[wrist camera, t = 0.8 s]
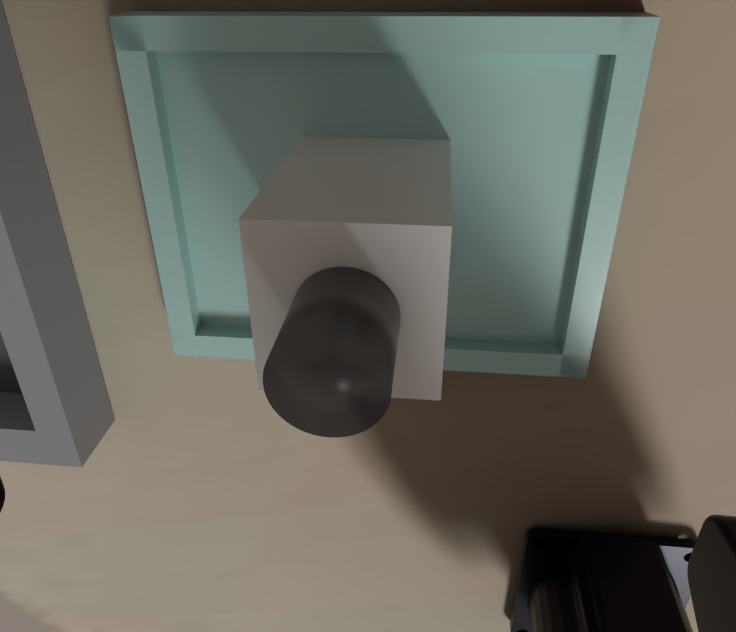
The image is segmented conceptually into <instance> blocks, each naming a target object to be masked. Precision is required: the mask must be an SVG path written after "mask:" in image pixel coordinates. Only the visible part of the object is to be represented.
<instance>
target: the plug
mask: <svg viewBox="0 0 736 632" xmlns="http://www.w3.org/2000/svg"><path fill="white" fill-rule="evenodd" d="M238 220H239V229H240V237H241V245H242V254H243V262H244V271H245V279H246V288H247V296H248V304H249V313H250V321H251V330H252V338H253V347H254V355H255V363H256V372H257V380H258V389H259V390H264V391H265V394H266V397H267V399H268V401H269V403H270V404H271V406H272V407H273V409H274V410H275V411H276V412H277V413H278V415H279V416H281V417H282V418H283V419H284V420H285V421H287V422H288V423H289V424H291V425H292V426H294V427H296V428H298V429H300V430H302V431H304V432H307V433H310V434H313V435H318V436H323V437H346V436H351V435H355V434H358V433H360V432H363V431H365V430H367V429H369V428H370V427H372V426H373V425H374V424H376V423H377V422H378V421H379V420H380V419H381V418H382V417H383V415H384V414H385V412H386V410H387V408H388V406H389V403H390V399H391V398H405V399H421V400H437V401H441V391H442V376H443V360H444V344H445V329H446V313H447V298H448V282H449V267H450V251H451V236H452V189H451V140H446V139H398V138H351V137H303V136H302V137H301V138H300V139H299V141H298V142H297V143H296V144H295V146H294V147H293V148H292V150H291V151H290V152H289V154H288V155H287V156H286V158H285V159H284V160H283V161H282V163H281V164H280V165H279V167H278V168H277V169H276V171H275V172H274V173H273V174H272V176H271V177H270V178H269V180H268V181H267V182H266V184H265V185H264V186H263V188H262V189H261V190H260V191H259V193H258V194H257V195H256V197H255V198H254V199H253V201H252V202H251V203H250V205H249V206H248V207H247V208H246V210H245V211H244V212H243V214H242V215H241V216H240V218H239V219H238Z"/></svg>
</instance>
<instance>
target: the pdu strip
mask: <svg viewBox="0 0 736 632" xmlns="http://www.w3.org/2000/svg"><path fill="white" fill-rule="evenodd" d="M114 420H115V419H114V416H113V412H112V408H111V405H110V401H109V397H108V394H107V390H106V386H105V383H104V379H103V375H102V371H101V368H100V364H99V360H98V357H97V353H96V349H95V346H94V342H93V338H92V335H91V331H90V327H89V323H88V320H87V316H86V312H85V309H84V305H83V301H82V298H81V294H80V290H79V287H78V283H77V279H76V275H75V272H74V268H73V264H72V261H71V257H70V253H69V250H68V246H67V242H66V239H65V235H64V231H63V227H62V224H61V220H60V216H59V213H58V209H57V205H56V202H55V198H54V194H53V191H52V187H51V183H50V179H49V176H48V172H47V168H46V165H45V161H44V157H43V154H42V150H41V146H40V143H39V139H38V135H37V131H36V128H35V124H34V120H33V117H32V113H31V109H30V106H29V102H28V98H27V95H26V91H25V87H24V83H23V80H22V76H21V72H20V69H19V65H18V61H17V58H16V54H15V50H14V47H13V43H12V39H11V35H10V32H9V28H8V24H7V21H6V17H5V13H4V10H3V6H2V2H1V0H0V461H9V462H23V463H36V464H49V465H62V466H76V467H82V466H83V465H84V463H85V462H86V460H87V459H88V458H89V456H90V455H91V453H92V452H93V450H94V449H95V448H96V446H97V445H98V443H99V442H100V440H101V439H102V438H103V436H104V435H105V433H106V432H107V430H108V429H109V428H110V426H111V425H112V423H113V422H114Z"/></svg>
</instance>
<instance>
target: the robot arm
mask: <svg viewBox="0 0 736 632" xmlns="http://www.w3.org/2000/svg"><path fill="white" fill-rule="evenodd" d="M4 501H5V489H4V485H3V483H2V480H1V477H0V512H1V510H2V507H3V504H4ZM540 540H541V541H540ZM690 595H691V598H692V602H693V607H694V612H695V617H696V622H697V627H698V631H699V632H736V517H734V516H724V515H711V516H709V517H708V518H707V519H706V520H705V522H704V523H703V526H702V528H701V531H700V533H699V536H698V538H697V541H695V540H689V539H677V538H664V537H652V536H639V535H626V534H614V533H601V532H589V531H576V530H563V529H551V528H533V529H530V530H529V531H528V532H527V533H526V535H525V539H524V545H523V551H522V557H521V563H520V568H519V574H518V580H517V586H516V591H515V597H514V603H513V609H512V615H511V620H510V629H511V632H693V631H692V628H691V625H690V622H689V619H688V617H687V614H686V611H685V608H686V605H687V603H688V600H689V598H690Z"/></svg>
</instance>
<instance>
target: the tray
mask: <svg viewBox="0 0 736 632" xmlns="http://www.w3.org/2000/svg"><path fill="white" fill-rule="evenodd" d="M109 21H110V26H111V31H112V37H113V42H114V47H115V52H116V57H117V62H118V67H119V72H120V77H121V83H122V88H123V93H124V98H125V103H126V108H127V113H128V118H129V123H130V128H131V134H132V139H133V144H134V149H135V154H136V159H137V164H138V169H139V174H140V180H141V185H142V190H143V195H144V200H145V205H146V210H147V215H148V220H149V226H150V231H151V236H152V241H153V246H154V251H155V256H156V261H157V266H158V272H159V277H160V282H161V287H162V292H163V297H164V302H165V307H166V312H167V318H168V323H169V328H170V333H171V338H172V343H173V348H174V353H175V355H181V356H199V357H217V358H234V359H252V360H255V355H254V347H253V338H252V330H251V321H250V313H249V304H248V296H247V288H246V279H245V271H244V262H243V254H242V245H241V237H240V229H239V220H238V219H239V218H240V216H241V215H242V214H243V212H244V211H245V210H246V208H247V207H248V206H249V205H250V203H251V202H252V201H253V199H254V198H255V197H256V195H257V194H258V193H259V191H260V190H261V189H262V188H263V186H264V185H265V184H266V182H267V181H268V180H269V178H270V177H271V176H272V174H273V173H274V172H275V171H276V169H277V168H278V167H279V165H280V164H281V163H282V161H283V160H284V159H285V158H286V156H287V155H288V154H289V152H290V151H291V150H292V148H293V147H294V146H295V144H296V143H297V142H298V141H299V139H300V138H301V137H302V136H303V137H351V138H398V139H446V140H451V189H452V236H451V251H450V267H449V282H448V298H447V313H446V329H445V344H444V360H443V370H447V371H465V372H482V373H500V374H518V375H536V376H553V377H571V378H586V375H587V370H588V365H589V360H590V355H591V351H592V346H593V341H594V336H595V331H596V326H597V321H598V317H599V312H600V307H601V302H602V297H603V292H604V288H605V283H606V278H607V273H608V268H609V263H610V258H611V254H612V249H613V244H614V239H615V234H616V229H617V224H618V220H619V215H620V210H621V205H622V200H623V195H624V190H625V186H626V181H627V176H628V171H629V166H630V161H631V157H632V152H633V147H634V142H635V137H636V132H637V127H638V123H639V118H640V113H641V108H642V103H643V98H644V93H645V89H646V84H647V79H648V74H649V69H650V64H651V60H652V55H653V50H654V45H655V40H656V35H657V30H658V26H659V21H660V17H659V16H656V15H653V14H650V13H647V12H284V11H129V12H124V13H119V14H114V15H109Z"/></svg>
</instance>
